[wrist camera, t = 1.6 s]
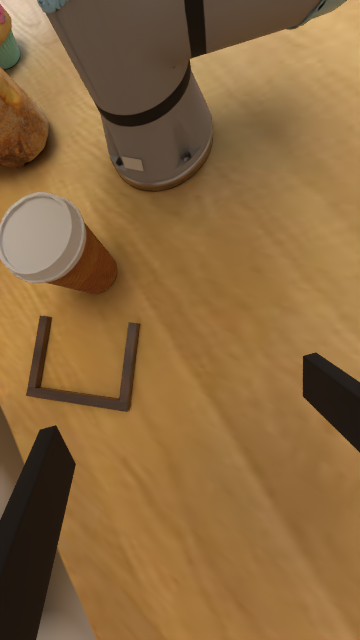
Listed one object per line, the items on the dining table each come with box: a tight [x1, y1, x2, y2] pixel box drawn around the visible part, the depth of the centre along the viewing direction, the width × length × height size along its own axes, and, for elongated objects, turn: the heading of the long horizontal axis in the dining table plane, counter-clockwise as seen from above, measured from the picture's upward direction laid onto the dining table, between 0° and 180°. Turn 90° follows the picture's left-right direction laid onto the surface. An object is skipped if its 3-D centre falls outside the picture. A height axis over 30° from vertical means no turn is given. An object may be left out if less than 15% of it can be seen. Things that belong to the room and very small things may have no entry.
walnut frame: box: [26, 316, 140, 411], centre depth 34 cm, size 11×15×1 cm
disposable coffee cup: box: [0, 192, 117, 294], centre depth 30 cm, size 10×10×12 cm
